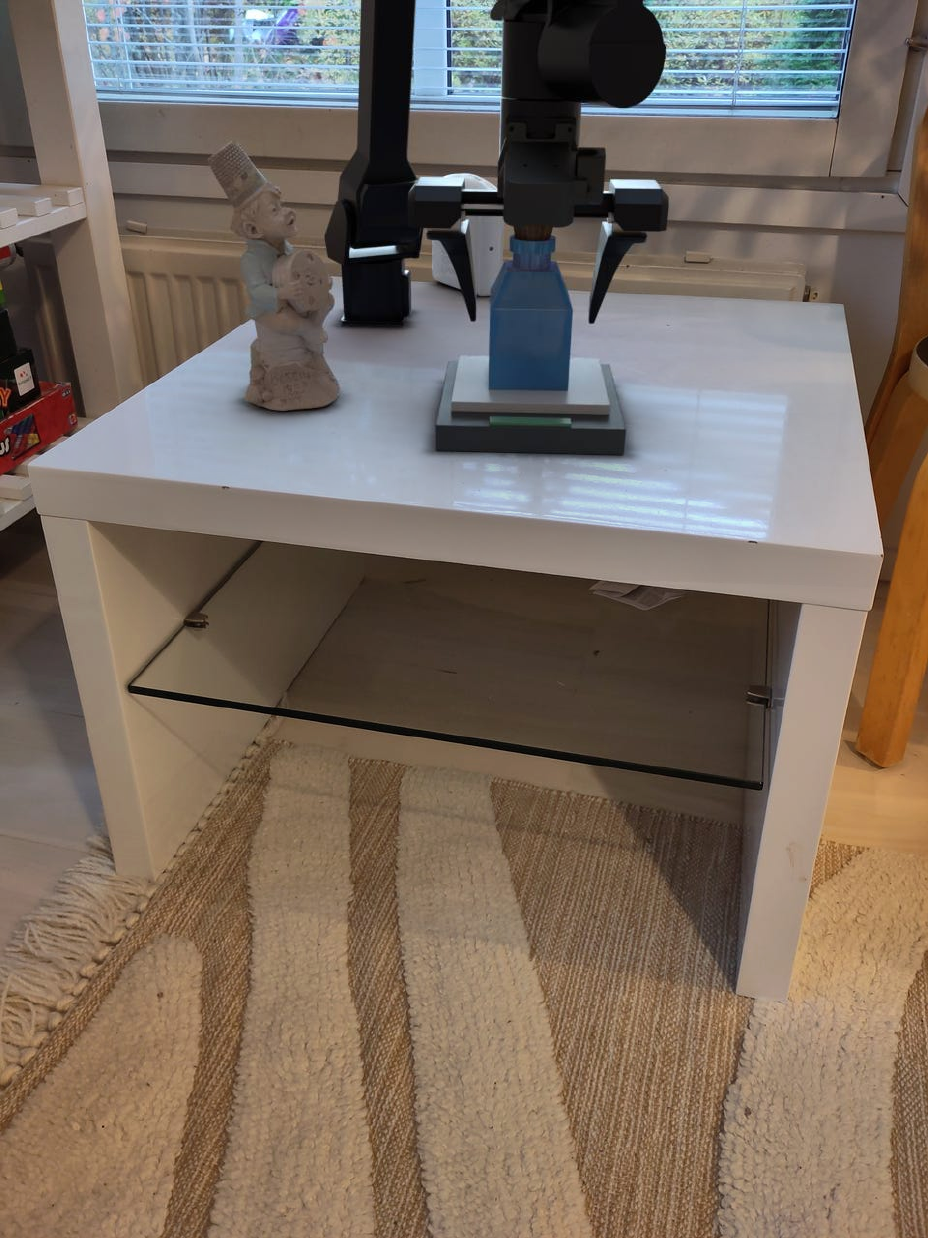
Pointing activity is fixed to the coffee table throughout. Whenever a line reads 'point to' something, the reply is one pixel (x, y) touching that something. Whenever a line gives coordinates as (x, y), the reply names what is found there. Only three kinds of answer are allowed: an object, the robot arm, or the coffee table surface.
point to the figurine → (278, 291)
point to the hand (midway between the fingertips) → (532, 321)
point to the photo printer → (474, 246)
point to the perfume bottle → (530, 317)
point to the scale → (530, 412)
